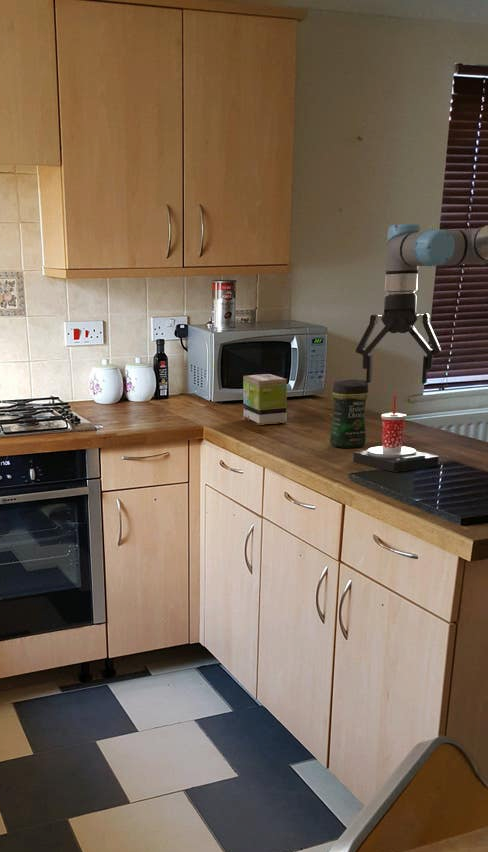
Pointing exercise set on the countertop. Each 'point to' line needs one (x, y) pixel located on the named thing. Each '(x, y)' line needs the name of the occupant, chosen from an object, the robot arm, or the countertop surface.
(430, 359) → the robot arm
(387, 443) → the beverage cup
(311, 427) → the countertop surface
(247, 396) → the tea box
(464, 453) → the countertop surface
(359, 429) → the coffee jar
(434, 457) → the kitchen scale
